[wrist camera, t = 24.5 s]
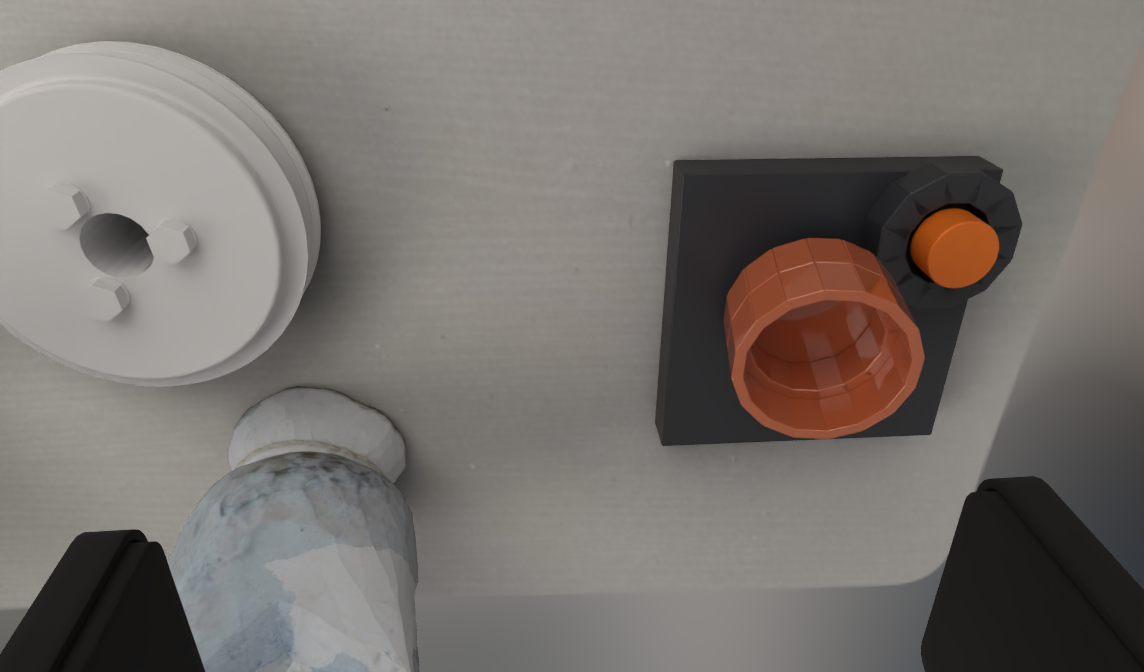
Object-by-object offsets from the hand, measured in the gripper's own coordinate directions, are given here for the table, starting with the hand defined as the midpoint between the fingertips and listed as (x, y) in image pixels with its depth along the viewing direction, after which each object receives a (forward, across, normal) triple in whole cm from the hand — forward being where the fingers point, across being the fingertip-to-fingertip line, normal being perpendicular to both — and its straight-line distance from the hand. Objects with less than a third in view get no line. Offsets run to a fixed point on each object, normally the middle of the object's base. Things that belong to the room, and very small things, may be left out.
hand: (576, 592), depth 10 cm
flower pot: (+22, -12, +8) cm, 27 cm away
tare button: (+22, -17, +5) cm, 28 cm away
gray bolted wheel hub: (+25, +14, +4) cm, 29 cm away
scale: (+25, -12, +9) cm, 29 cm away
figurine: (+25, +10, +17) cm, 32 cm away
